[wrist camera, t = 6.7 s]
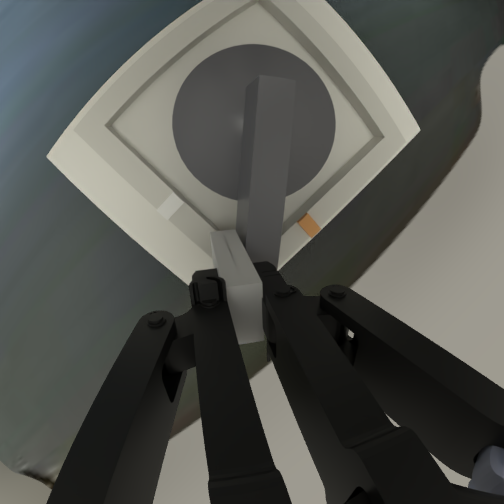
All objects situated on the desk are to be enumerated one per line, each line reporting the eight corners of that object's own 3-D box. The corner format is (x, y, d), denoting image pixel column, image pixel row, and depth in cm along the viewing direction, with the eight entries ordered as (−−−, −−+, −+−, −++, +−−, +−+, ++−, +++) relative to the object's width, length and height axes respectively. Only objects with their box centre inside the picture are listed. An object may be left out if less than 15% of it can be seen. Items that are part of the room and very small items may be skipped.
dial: (181, 45, 14) (178, 11, 9) (330, 65, 17) (373, 47, 12) (171, 268, 20) (166, 311, 15) (308, 267, 22) (340, 304, 17)
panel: (274, -35, 14) (285, -52, 11) (411, 129, 21) (434, 131, 18) (53, 155, 16) (34, 158, 14) (226, 308, 23) (230, 329, 21)
